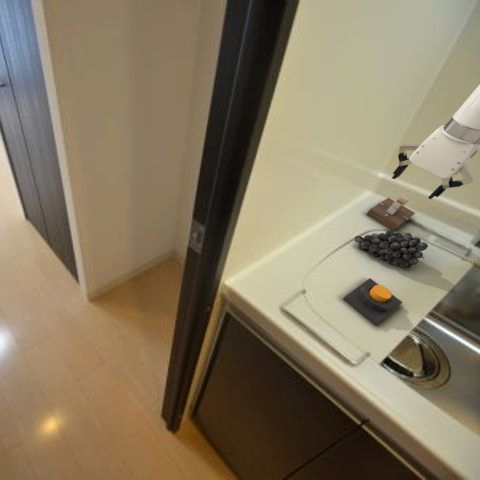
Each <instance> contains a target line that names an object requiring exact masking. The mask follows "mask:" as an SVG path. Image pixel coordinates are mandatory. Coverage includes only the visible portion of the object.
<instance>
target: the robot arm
mask: <svg viewBox="0 0 480 480" xmlns="http://www.w3.org/2000/svg"><path fill="white" fill-rule="evenodd" d="M479 150H480V84H478V86H477V87H476V88H475V89H474V90H473V91H472V93H470V95H469V96H468V98H467V99H466V100H465V101H464V102H463V103H462V105H460V106H459V108H458V109H457V110H456V111H455V113H454V114H452V116H451V118H449V120H448V121H447V122H446V124H443V125H440V126H439V127H438V128H437V129H435V131H433V132H432V133H431V134H430V135H428V137H427V138H426V139H425V140H423V142H421V144H410V143H409V144H407V143H404V144H402V145H400V146H399V149H398V155H397V158H398V166H397V167H396V169H395V170H394V171H393V172H392V174H393V176H392V177H391V179H392V180H395V179H397V178H399V177H400V176H401V175H402V174H403V173H404V172H405V171H406V169H407V168H408V167H409V165H411V164H412V165H414V166H416V167H418V168H419V169H421V170H422V171H426V172H427V173H429V174H431V175H434V176H436V177H438V178H440V179H441V184H440V185H439V186H437V187H436V188H435V190H434V191H433V192H431V194H430V195H429V196H428V197H427V198H428V199H429V200H432V199H433V198H435V197H436V198H438V197H440V196H441V195H442V194H443V193H444V192H445V191H446V190H448V189H451V188H459V187H463V186H465V185H468V184H470V183H473V182H474V181H475V180H476V177H475V176H474V174H473V173H472V172H471V170H470V169H469V167H467V164H468V163H469V162H470V161H471V160H472V159H473V158H474V156H475V155H476V154H477V153H478V151H479ZM407 151H413V152H412V154H411V155H410V156H409V157H408V155H407ZM458 173H459V174H460V175H461V177H462V179H459V180H455V179H454V176H456V175H457V174H458Z"/></svg>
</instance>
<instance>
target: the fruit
mask: <svg viewBox="0 0 480 480" xmlns="http://www.w3.org/2000/svg"><path fill="white" fill-rule="evenodd" d="M353 240H354V242H355V243H358V245H357V248H358V249H359V250H361V251H364V250H366V251H367V252H369V254H371V255H372V256H373V257H375V258H378V257H379V258H380V260H382V261H385V260H386V262H387V263H389V264H391V265H393V266H400V267H402V268H405V269H410V268H411V267H412V266H414V265H415V266H416V265H418V264H419V259H421V258H422V259H423V260H425V257H424V254H423V251H425V250H427V249H428V247H429V245H428V243H427V242H425V241H421V238H420V237H419V236H413V235H412V233H410V232H405V233H402V232H395V230H393V231H392V230H390V229H387V231H385V233H384V232H380V233H377V232H376V233H375V232H373V233H372V234H366V235H364V236H361V235H356V236H355V237H354V239H353Z"/></svg>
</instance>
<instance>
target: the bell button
mask: <svg viewBox="0 0 480 480" xmlns="http://www.w3.org/2000/svg"><path fill="white" fill-rule="evenodd" d="M369 293H370V295H371V297H372V298H373V299H375V300H376V301H379V302H386V301H387V300H388V299H389V298H390V297H391V296H392V295H393V293H392V292H391V290H390V289H389V288H388V287H386V286H384V285H381V284H379V285H376V286H374V287H373V288H372V289H371V290H370V292H369ZM391 293H392V294H391Z"/></svg>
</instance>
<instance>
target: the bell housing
mask: <svg viewBox="0 0 480 480" xmlns="http://www.w3.org/2000/svg"><path fill="white" fill-rule="evenodd" d="M376 285H380V284H379V283H378V282H376V281H375V280H373V279H372V278H371V277H369V278H368V279H366V280H365V281H364V282H362V283H361V284H359V285H358V286H357V287H356V288H354V289H353V290H351V291H350V292H348V293H347V294H345V296H344V297H343V298H342V300H343V301H344V302H345V303H346V304H347V305H349V306H350V307H351V308H353V309H354V310H355V311H356V312H358V313H359V314H360V315H361V316H362V317H363V318H364V319H366V320H367V321H368V322H369V323H371V324H372V325H373V326H376V325H378V324H379V323H380V322H381V321H382V320H384V319H385V318H386V317H387V316H388V315H390V314H391V313H392V312H393V311H395V309H397V308H398V307H399V306H400V305H402V304H403V301H402V300H401V299H399V298H398V297H396V295H393V293H392V292H391V294H392V296H391V297H390V298H389V299H388V300H387V301H386V302H379V301H376V300H375V299H373V298H372V297H371V295H370V293H369V292H370V290H371V289H372V288H373V287H374V286H376Z"/></svg>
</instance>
